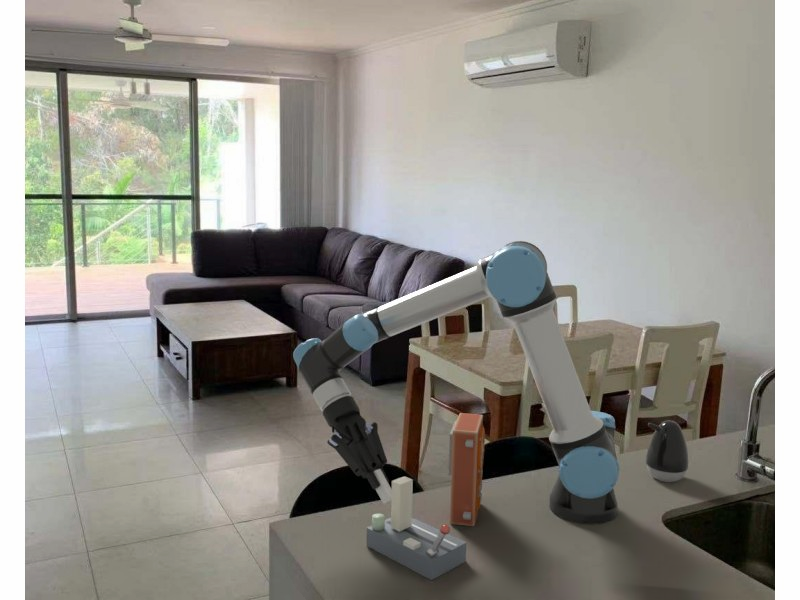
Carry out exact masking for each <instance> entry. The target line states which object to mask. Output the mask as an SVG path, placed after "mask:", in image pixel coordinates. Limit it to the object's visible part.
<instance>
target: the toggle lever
mask: <svg viewBox="0 0 800 600" xmlns="http://www.w3.org/2000/svg"><path fill="white" fill-rule="evenodd" d="M439 530H440V533H439V534H438V536H437V538H436V540H435V542H434V543H433V545H432V547H431V548H430V549H428V550H427V551H426V554H427V556H428V557H432V556H434V555H436V554H438V553H439V550H438V548H439V546H440V544H441V542H442V541H443V539H444V537H445V535H446V534H449V533H450V531H451V529H450V526H449V525H448V524H442V525H440V529H439Z"/></svg>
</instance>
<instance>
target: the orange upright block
mask: <svg viewBox="0 0 800 600" xmlns="http://www.w3.org/2000/svg"><path fill="white" fill-rule="evenodd" d="M483 421H484V415H483V414H479V413H475V414H474V413H468V412H467V413H463V412H460V413H459V415H458V417H457V420H454V422H453V426H452V427H451V430H450V432H449V435H448V436H449V449H448V451H449V453H448V471H447V474H448V476H450V477H451V479H450V481H451V482H450V506H449V507H450V509H449V514H450V515H449V523H450V525H458V526H467V527H475V524H476V521H477V517H478V512H479V509H480V508H481V503H482V499H483V498H482V497H483V495H482V489H483V472H484V471H483V467H484V460H485V459H484V457H485V445H486V443H485V440H486V439H485V438H486V431H485V427H484V425H483V423H484V422H483Z"/></svg>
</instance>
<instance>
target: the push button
mask: <svg viewBox="0 0 800 600" xmlns="http://www.w3.org/2000/svg"><path fill="white" fill-rule="evenodd" d="M385 519H386V516H385V514H383V513H374V514H372V515H371V526H372V529H374V530H377V531H379V530H383V529H384V528H385Z"/></svg>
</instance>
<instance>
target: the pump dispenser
mask: <svg viewBox="0 0 800 600" xmlns="http://www.w3.org/2000/svg"><path fill="white" fill-rule="evenodd" d="M647 426H648V427H649V428H651V429H652V430H654V432H653V434H652V435H651V438H650V441H649V444H648V448H647V451H646V457H645V464H646V465H647V466H646V467H647V470H648V472H649V473H650V475H651V476H652V477H653V478H654V479H655V480H657V481H658V480H659V481H660V482H665V483H674V482H678V481H680V480H682V479H683V478H684V477H685V474H686V472H687V471H688V470H689V450H688V446H687V441H686V438H685V435H684V431H683V430H682V428H681V426H680V424H678V423H677V422H676V421H673V420H664V421H662V422H661V423H660V424H659V425H657V424H654V423H652V422H648V424H647Z"/></svg>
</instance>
